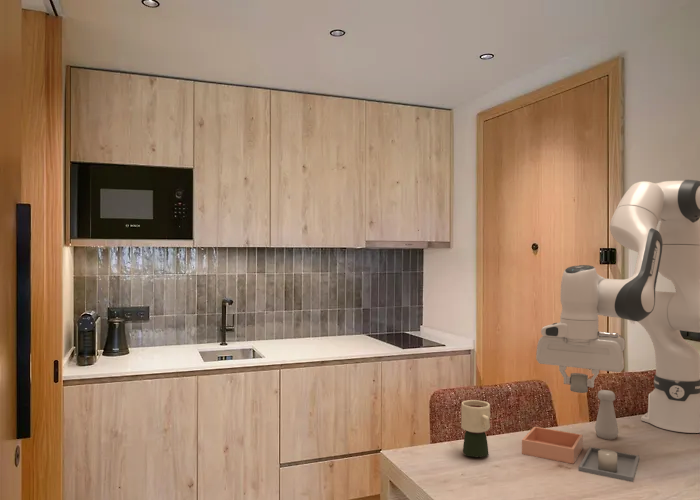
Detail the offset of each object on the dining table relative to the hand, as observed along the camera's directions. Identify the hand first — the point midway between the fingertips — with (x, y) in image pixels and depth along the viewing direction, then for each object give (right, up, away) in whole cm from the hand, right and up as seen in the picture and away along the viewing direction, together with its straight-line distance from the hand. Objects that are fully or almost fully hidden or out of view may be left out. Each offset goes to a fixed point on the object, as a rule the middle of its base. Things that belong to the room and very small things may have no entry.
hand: (578, 385), depth 137 cm
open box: (-6, -18, +2) cm, 19 cm away
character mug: (-26, -18, 0) cm, 31 cm away
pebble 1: (0, -1, 0) cm, 1 cm away
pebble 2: (+3, -17, -10) cm, 20 cm away
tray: (+4, -18, -7) cm, 19 cm away
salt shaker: (+13, -18, +13) cm, 25 cm away
